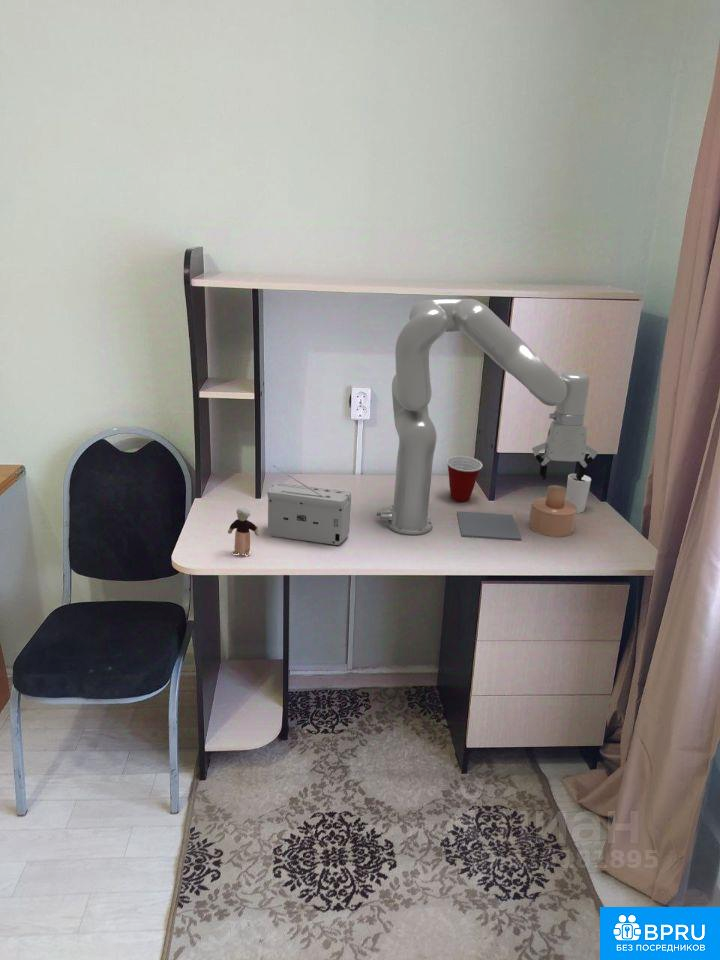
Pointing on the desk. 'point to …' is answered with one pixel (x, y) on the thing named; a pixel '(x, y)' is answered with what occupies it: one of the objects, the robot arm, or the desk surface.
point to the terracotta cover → (553, 513)
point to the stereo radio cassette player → (308, 512)
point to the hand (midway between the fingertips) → (560, 478)
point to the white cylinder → (578, 491)
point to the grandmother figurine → (242, 531)
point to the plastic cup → (462, 476)
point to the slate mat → (488, 525)
